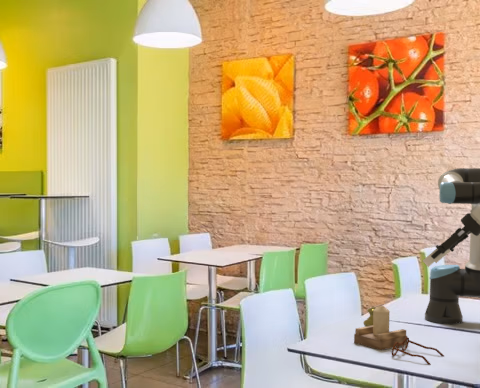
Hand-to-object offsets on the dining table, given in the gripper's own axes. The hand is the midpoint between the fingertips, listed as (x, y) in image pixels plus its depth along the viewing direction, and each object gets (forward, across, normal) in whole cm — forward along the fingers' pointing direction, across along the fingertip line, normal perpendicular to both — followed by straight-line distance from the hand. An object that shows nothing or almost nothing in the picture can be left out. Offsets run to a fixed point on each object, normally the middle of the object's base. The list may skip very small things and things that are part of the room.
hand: (429, 262), depth 199 cm
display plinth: (+32, -3, -10) cm, 34 cm away
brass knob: (+37, +10, -6) cm, 38 cm away
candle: (+30, -3, -8) cm, 31 cm away
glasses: (+22, -12, -21) cm, 33 cm away
